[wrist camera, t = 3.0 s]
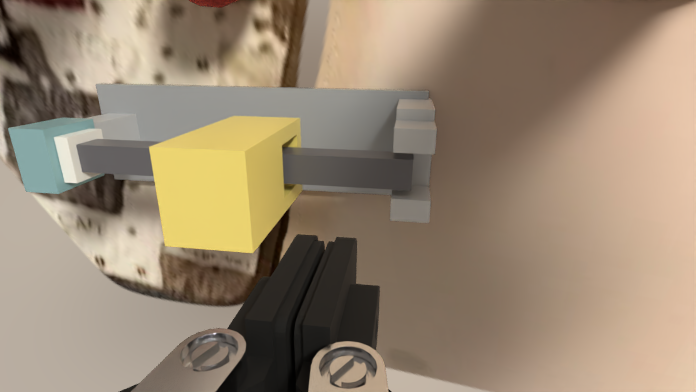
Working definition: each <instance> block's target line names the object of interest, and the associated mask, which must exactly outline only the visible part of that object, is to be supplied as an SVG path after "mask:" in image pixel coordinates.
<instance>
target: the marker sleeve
mask: <svg viewBox="0 0 696 392" xmlns="http://www.w3.org/2000/svg"><path fill="white" fill-rule="evenodd" d="M282 147H298V148H301V127H300V118H287V117H256V116H232V117H229V118H227V119H224V120H221V121H218V122H216V123H213V124H210V125H207V126H205V127H202V128H199V129H196V130H194V131H191V132H188V133H185V134H183V135H180V136H177V137H175V138H172V139H169V140H166V141H164V142H161V143H158V144H155V145H153V146H150V147H149V150H150V156H151V163H152V169H153V175H154V181H155V187H156V193H157V199H158V205H159V211H160V218H161V224H162V230H163V236H164V242H165V246H170V247H182V248H195V249H207V250H219V251H231V252H244V253H254V251H255V250H256V249H257V248H258V246H259V245H260V244H261V243H262V241H263V240H264V239H265V237H266V236H267V235H268V234H269V232H270V231H271V230H272V229H273V227H274V226H275V225H276V223H277V222H278V221H279V220H280V218H281V217H282V216H283V215H284V213H285V212H286V211H287V210H288V208H289V207H290V206H291V204H292V203H293V202H294V201H295V199H296V198H297V197H298V196H299V194H300V193H301V192H302V190H303V189H302V185H301V184H284V178H283V157H282Z"/></svg>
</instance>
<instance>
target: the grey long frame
mask: <svg viewBox="0 0 696 392" xmlns="http://www.w3.org/2000/svg"><path fill="white" fill-rule="evenodd" d="M96 88H97V93H98V98H99V103H100V108H101V113H102V115H99V116H94V117H89V118H84V119H83V118H59V119H53V120H48V121H43V122H38V123H33V124H27V125H22V126H17V127H12V128H8V130H9V133H10V137H11V141H12V144H13V148H14V151H15V155H16V158H17V162H18V166H19V169H20V173H21V176H22V180H23V183H24V187H25V190H26V192H40V193H55V194H59V193H62V192H64V191H67V190H69V189H72V188H74V187H77V186H79V185H82V184H84V183H87V182H89V181H91V180H94V179H96V178H99V177H101V176H104V174H114V179H119V180H136V181H154V175H153V169H152V163H151V156H150V150H149V147H150V146H153V145H155V144H158V143H161V142H164V141H166V140H169V139H172V138H175V137H177V136H180V135H183V134H185V133H188V132H191V131H194V130H196V129H199V128H202V127H205V126H207V125H210V124H213V123H216V122H218V121H221V120H224V119H227V118H229V117H232V116H256V117H287V118H300V127H301V148H298V147H282V157H283V178H284V184H301V185H302V189H303V190H310V191H327V192H344V193H362V194H379V195H391V208H390V221H403V222H418V223H429V219H430V207H431V197H430V189H429V182H430V170H431V157H432V154H435V147H436V135H437V128H436V125H435V122H434V120H435V107H434V105H433V102H432V100H431V99H428V97H429V90H383V89H337V88H291V87H245V86H199V85H153V84H107V83H101V84H96ZM154 182H155V181H154Z"/></svg>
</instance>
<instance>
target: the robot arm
mask: <svg viewBox="0 0 696 392" xmlns="http://www.w3.org/2000/svg"><path fill="white" fill-rule="evenodd" d="M356 260H357V240H356V238H344V237H337V238H336V240H335V242H328V245H327V247H326V249H325V246H324V241H318V237H317V236H315V235H300V234H297V235H296V237H295V239H294V240H293V242H292V243H291V245H290V247H289V248H288V250H287V251H286V253H285V255H284V256H283V258H282V260H281V261H280V263H279V264H278V266H277V268H276V269H275V271H274V272H273V274H272V276H271V277H262V278H261V279H260V280H259V281H258V283H257V284H256V286H255V288H254V289H253V291H252V292H251V294H250V295H249V297H248V298H247V300H246V301H245V303H244V304H243V306H242V307H241V309H240V310H239V312H238V313H237V315H236V317H235V318H234V319H233V321H232V322H231V324H230V325H229V327H228V329H221V328H218V329H209V330H205V331H202V332H198V333H196V334H194V335H192V336H190V337H188V338H187V339H185V340H184V341H183V342H182V343H180V344H179V345H178V346H177V347H176V348H175V349H174V350H173V351H172V352H171V353H170V354H169V355H168V356H167V357H166V358H165V359H164V360H163V361H162V362H161V363H160V364H159V365H158V366H157V367H156V368H155V369H154V370H152V371H151V373H149V374H148V375H147V376H146V377H145V378H144V379H143V380H142V381H141V382H140V383H139V384H137V385H134V386H132V387H130V388H127V389H124V390H122V391H120V392H391V391H390V390H389V389H388V384H387V377H386V369H385V364H384V361H383V359H382V357H381V356H380V355H379V353H378V352H377V351H376V344H377V332H378V317H379V293H380V287H379V286H373V285H361V284H356Z"/></svg>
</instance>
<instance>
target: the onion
mask: <svg viewBox="0 0 696 392" xmlns="http://www.w3.org/2000/svg"><path fill="white" fill-rule="evenodd" d="M189 1H191V2H193V3H195V4H197V5H199V6H207V7H224V6H226V5H229V4H231V3H233V2H236V1H238V0H189Z"/></svg>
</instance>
